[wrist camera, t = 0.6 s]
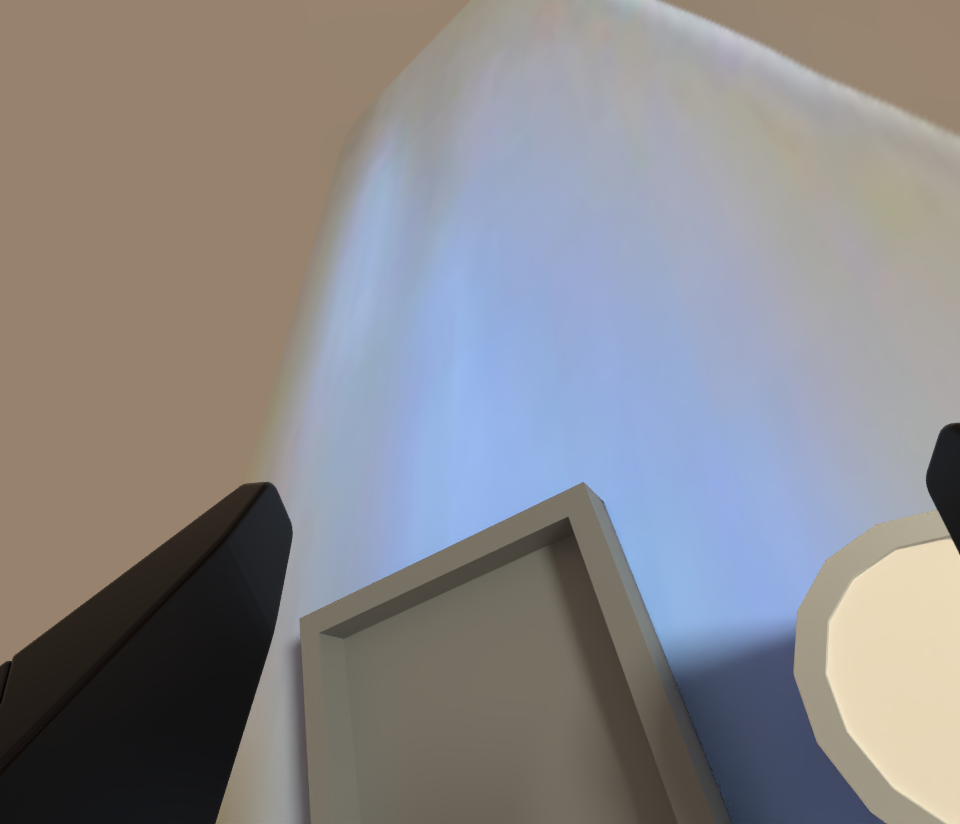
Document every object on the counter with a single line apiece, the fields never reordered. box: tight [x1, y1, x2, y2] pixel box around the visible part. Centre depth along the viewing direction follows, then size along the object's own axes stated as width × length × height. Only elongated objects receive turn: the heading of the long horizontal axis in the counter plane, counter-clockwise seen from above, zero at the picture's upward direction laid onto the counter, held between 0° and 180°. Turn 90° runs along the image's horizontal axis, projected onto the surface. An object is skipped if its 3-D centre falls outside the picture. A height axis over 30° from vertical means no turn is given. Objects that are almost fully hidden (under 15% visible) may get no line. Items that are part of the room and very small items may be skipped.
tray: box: [300, 482, 733, 824], centre depth 21 cm, size 16×14×2 cm
